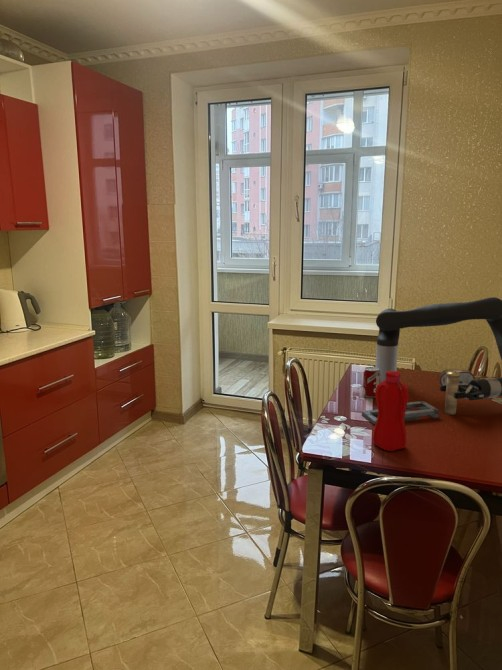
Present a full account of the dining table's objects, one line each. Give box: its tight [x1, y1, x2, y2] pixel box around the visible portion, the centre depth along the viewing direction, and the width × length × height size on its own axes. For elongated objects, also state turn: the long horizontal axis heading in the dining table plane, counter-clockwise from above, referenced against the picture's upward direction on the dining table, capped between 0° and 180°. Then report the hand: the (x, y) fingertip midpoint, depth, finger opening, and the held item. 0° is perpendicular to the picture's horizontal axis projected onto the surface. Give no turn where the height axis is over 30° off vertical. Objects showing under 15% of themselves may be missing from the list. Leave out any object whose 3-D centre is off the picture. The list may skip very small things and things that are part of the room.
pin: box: [444, 371, 460, 416], centre depth 180 cm, size 5×5×16 cm
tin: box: [437, 368, 476, 386], centre depth 208 cm, size 15×3×8 cm, turn 84°
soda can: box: [362, 366, 380, 399], centre depth 200 cm, size 7×7×12 cm
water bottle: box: [372, 371, 410, 452], centre depth 152 cm, size 9×11×25 cm
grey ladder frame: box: [361, 400, 440, 426], centre depth 179 cm, size 26×10×3 cm, turn 103°
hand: (447, 392), depth 180 cm, fingers open, 8 cm apart
